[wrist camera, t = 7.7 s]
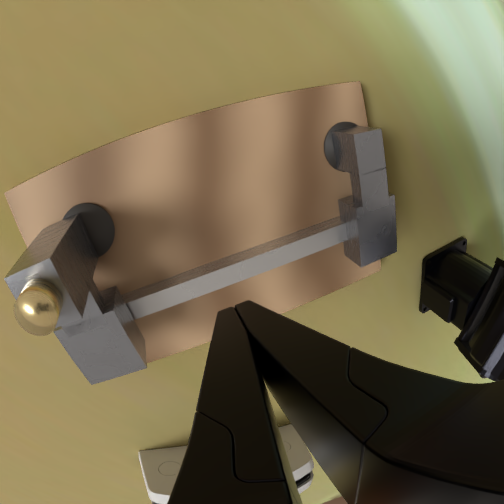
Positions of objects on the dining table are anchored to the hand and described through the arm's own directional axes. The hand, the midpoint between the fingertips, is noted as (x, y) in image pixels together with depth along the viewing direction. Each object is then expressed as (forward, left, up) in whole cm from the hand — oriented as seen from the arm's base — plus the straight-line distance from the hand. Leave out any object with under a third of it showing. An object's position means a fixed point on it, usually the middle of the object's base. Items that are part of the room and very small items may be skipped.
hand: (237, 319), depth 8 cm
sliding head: (+7, +2, -11) cm, 13 cm away
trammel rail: (-2, +2, -11) cm, 11 cm away
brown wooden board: (-1, +2, -12) cm, 12 cm away
